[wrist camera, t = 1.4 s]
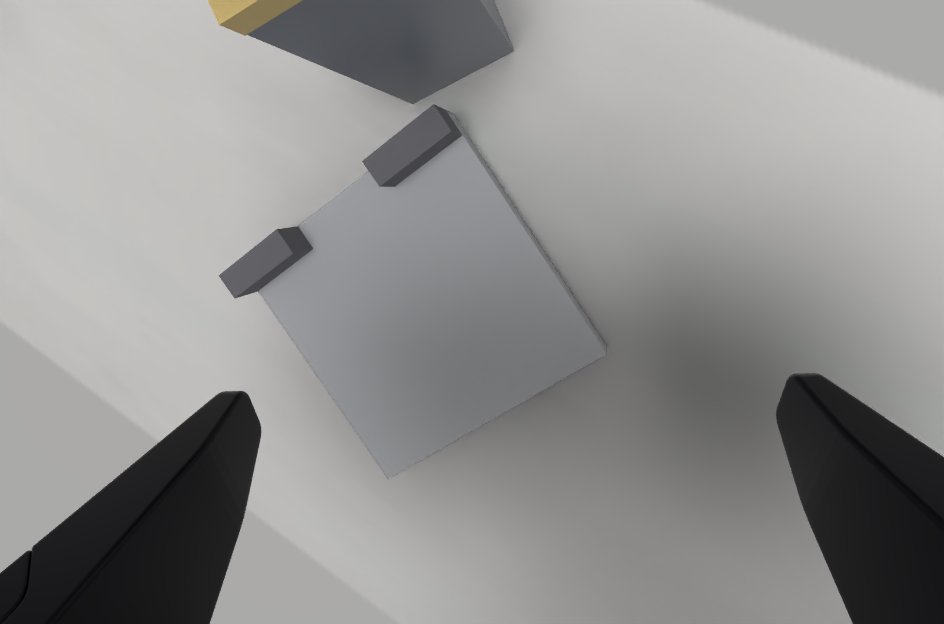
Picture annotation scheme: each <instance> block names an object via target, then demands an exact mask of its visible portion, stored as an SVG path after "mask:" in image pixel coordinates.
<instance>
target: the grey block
mask: <svg viewBox="0 0 944 624" xmlns="http://www.w3.org/2000/svg"><path fill="white" fill-rule="evenodd" d="M208 2H209V4H210V6H211V8H212V10H213V12H214V15H215V17H216V19H217V21H218V23H219V25H221V26H223V27H226V28H228V29H230V30H233V31H235V32H238V33H240V34H243V35H245V36H246V35H249V36H251V37H254V38H256V39H259V40H261V41H263V42H266V43H268V44H271V45H273V46H275V47H278V48H280V49H282V50H285V51H287V52H290V53H292V54H294V55H297V56H299V57H302V58H304V59H306V60H309V61H311V62H314V63H316V64H318V65H321V66H323V67H326V68H328V69H330V70H333V71H335V72H338V73H340V74H342V75H345V76H347V77H350V78H352V79H354V80H357V81H359V82H361V83H364V84H366V85H369V86H371V87H373V88H376V89H378V90H381V91H383V92H385V93H388V94H390V95H393V96H395V97H397V98H400V99H402V100H405V101H407V102H409V103H412V104H413V103H415V102H417V101H419V100H421V99H423V98H425V97H426V96H428V95H430V94H432V93H434V92H436V91H438V90H440V89H442V88H444V87H446V86H448V85H449V84H451V83H453V82H455V81H457V80H459V79H461V78H463V77H465V76H467V75H469V74H471V73H473V72H474V71H476V70H478V69H480V68H482V67H484V66H486V65H488V64H490V63H492V62H494V61H496V60H497V59H499V58H501V57H503V56H505V55H507V54H509V53H511V52H513V51H514V49H513V46H512V44H511V41H510V39H509V36H508V34H507V31H506V29H505V26H504V24H503V21H502V19H501V16H500V14H499V11H498V9H497V6H496V4H495V1H494V0H208Z"/></svg>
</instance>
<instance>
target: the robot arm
mask: <svg viewBox="0 0 944 624" xmlns="http://www.w3.org/2000/svg"><path fill="white" fill-rule="evenodd" d="M776 419H777V424H778V427H779V431H780V434H781V437H782V441H783V444H784V447H785V451H786V454H787V457H788V461H789V464H790V467H791V470H792V474H793V477H794V480H795V484H796V487H797V490H798V494H799V497H800V500H801V503H802V506H803V509H804V511H805V514H806V516H807V518H808V521H809V523H810V526H811V528H812V530H813V533H814V535H815V537H816V540H817V542H818V544H819V547H820V549H821V551H822V553H823V556H824V558H825V560H826V563H827V565H828V567H829V570H830V572H831V574H832V577H833V579H834V581H835V583H836V586H837V588H838V590H839V593H840V595H841V597H842V600H843V602H844V604H845V607H846V609H847V611H848V614H849V616H850V618H851V620H852V623H853V624H944V457H943V456H941V455H940V454H938V453H937V452H935V451H934V450H932V449H931V448H930V447H928V446H927V445H925V444H924V443H922V442H921V441H919V440H918V439H916V438H915V437H913V436H912V435H910V434H909V433H907V432H906V431H904V430H903V429H901V428H900V427H898V426H897V425H895V424H894V423H892V422H891V421H889V420H888V419H886V418H885V417H883V416H882V415H880V414H879V413H877V412H876V411H874V410H873V409H871V408H870V407H868V406H867V405H865V404H864V403H862V402H861V401H859V400H858V399H856V398H855V397H853V396H852V395H850V394H849V393H847V392H846V391H844V390H843V389H841V388H840V387H838V386H837V385H835V384H834V383H832V382H831V381H830V380H828V379H827V378H825V377H823V376H822V375H820V374H816V373H804V374H793V375H791V376H790V377H789V378H788V380H787V382H786V384H785V387H784V390H783V393H782V396H781V398H780V401H779V404H778V407H777V412H776ZM260 438H261V425H260V421H259V419H258V417H257V414H256V412H255V409H254V407H253V405H252V402H251V400H250V398H249V396H248V394H247V393H246V392H244V391H224V392H221V393H219V394H217V395H216V396H215V397H214V398H212V399H211V400H210V401H209V402H207V403H206V404H205V405H204V406H203V407H201V408H200V409H199V410H198V411H197V412H195V413H194V414H193V415H192V416H190V417H189V418H188V419H187V420H186V421H184V422H183V423H182V424H181V425H180V426H178V427H177V428H176V429H175V430H174V431H172V432H171V433H170V434H169V435H167V436H166V437H165V438H164V439H163V440H161V441H160V442H159V443H158V444H157V445H155V446H154V447H153V448H152V449H151V450H149V451H148V452H147V453H146V454H144V455H143V456H142V457H141V458H140V459H138V460H137V461H136V462H135V463H133V464H132V465H131V466H130V467H129V468H127V470H125V471H124V472H123V473H121V474H120V475H119V476H118V477H117V478H115V479H114V480H113V481H112V482H111V483H109V484H108V485H107V486H106V487H104V488H103V489H102V490H101V491H100V492H98V493H97V494H96V495H95V496H93V497H92V498H91V499H90V500H89V501H87V502H86V503H85V504H84V505H83V506H81V508H79V509H78V510H77V511H75V512H74V513H73V514H72V515H71V516H69V517H68V518H67V519H66V520H64V521H63V522H62V523H61V524H60V525H58V526H57V527H56V528H55V529H53V530H52V531H51V532H50V533H49V534H47V535H46V536H45V537H44V538H43V539H41V540H40V541H39V542H38V543H37V544H35V545H34V546H33V548H32V551H27V552H25V553H24V554H23V555H22V556H20V557H19V558H18V559H17V560H16V561H15V562H13V563H12V564H11V565H10V566H8V567H7V568H6V569H5V570H3V571H2V572H1V573H0V624H210V621H211V618H212V615H213V611H214V608H215V605H216V602H217V599H218V596H219V593H220V590H221V587H222V584H223V581H224V578H225V575H226V572H227V569H228V566H229V562H230V559H231V556H232V553H233V550H234V547H235V544H236V541H237V538H238V535H239V532H240V529H241V525H242V522H243V519H244V514H245V510H246V506H247V501H248V496H249V492H250V487H251V482H252V477H253V472H254V467H255V462H256V458H257V453H258V448H259V443H260Z"/></svg>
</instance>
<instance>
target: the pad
mask: <svg viewBox="0 0 944 624" xmlns="http://www.w3.org/2000/svg"><path fill="white" fill-rule="evenodd" d="M362 162H363V163H364V165H365V166H366V168H367V169H368V172H367V173H366V174H364V175H363V176H362V177H360V178H359V179H358V180H357V181H355V182H354V183H353V184H352V185H350V186H349V187H348V188H347V189H345V190H344V191H343V192H341V193H340V194H339V195H338V196H336V197H335V198H334V199H333V200H331V201H330V202H329V203H327V204H326V205H325V206H324V207H322V208H321V209H320V210H319V211H317V212H316V213H315V214H313V215H312V216H311V217H310V218H308V219H307V220H306V221H305V222H303V223H302V224H301V225H299V226H298V227H291V228H284V229H277V230H275V231H274V232H273V233H272V234H270V235H269V236H268V237H267V238H265V239H264V240H263V241H262V242H260V243H259V244H258V245H257V246H255V247H254V248H253V249H251V250H250V251H249V252H248V253H246V254H245V255H244V256H243V257H241V258H240V259H239V260H238V261H236V262H235V263H234V264H233V265H231V266H230V267H229V268H228V269H226V270H225V271H224V272H223V273H221V274H220V275H219V277H220V278H221V279H222V281H223V282H224V284H225V285H226V287H227V288H228V290H229V291H230V292H231V294H232V295H233V297H234V298H238V297H241V296H244V295H247V294H251V293H254V292H257V291H258V292H259V293H260V295H261V296H262V298H263V299H264V301H265V302H266V304H267V305H268V306H269V308H270V309H271V311H272V312H273V314H274V315H275V317H276V318H277V319H278V321H279V322H280V324H281V325H282V327H283V328H284V330H285V331H286V332H287V334H288V335H289V337H290V338H291V340H292V341H293V343H294V344H295V345H296V347H297V348H298V350H299V351H300V353H301V354H302V356H303V357H304V358H305V360H306V361H307V363H308V364H309V366H310V367H311V369H312V370H313V371H314V373H315V374H316V376H317V377H318V379H319V380H320V382H321V383H322V384H323V386H324V387H325V389H326V390H327V392H328V393H329V394H330V396H331V397H332V399H333V400H334V402H335V403H336V405H337V406H338V407H339V409H340V410H341V412H342V413H343V415H344V416H345V418H346V419H347V420H348V422H349V423H350V425H351V426H352V428H353V429H354V431H355V432H356V433H357V435H358V436H359V438H360V439H361V441H362V442H363V444H364V445H365V446H366V448H367V449H368V451H369V452H370V454H371V455H372V457H373V458H374V459H375V461H376V462H377V464H378V465H379V467H380V468H381V470H382V471H383V472H384V474H385V475H386V477H387V478H388V479H389V478H391V477H393V476H394V475H396V474H398V473H400V472H401V471H403V470H405V469H407V468H408V467H410V466H412V465H414V464H415V463H417V462H419V461H421V460H422V459H424V458H426V457H428V456H429V455H431V454H433V453H435V452H436V451H438V450H440V449H442V448H443V447H445V446H447V445H449V444H450V443H452V442H454V441H456V440H457V439H459V438H461V437H463V436H464V435H466V434H468V433H470V432H472V431H473V430H475V429H477V428H479V427H480V426H482V425H484V424H486V423H487V422H489V421H491V420H493V419H494V418H496V417H498V416H500V415H501V414H503V413H505V412H507V411H508V410H510V409H512V408H514V407H515V406H517V405H519V404H521V403H522V402H524V401H526V400H528V399H529V398H531V397H533V396H535V395H536V394H538V393H540V392H542V391H543V390H545V389H547V388H549V387H550V386H552V385H554V384H556V383H557V382H559V381H561V380H563V379H564V378H566V377H568V376H570V375H571V374H573V373H575V372H577V371H578V370H580V369H582V368H584V367H585V366H587V365H589V364H591V363H592V362H594V361H596V360H598V359H599V358H601V357H603V356H605V355H606V354H607V346H606V345H605V343H604V342H603V340H602V339H601V337H600V336H599V334H598V333H597V331H596V330H595V328H594V327H593V325H592V324H591V322H590V321H589V319H588V318H587V316H586V314H585V313H584V311H583V310H582V308H581V307H580V305H579V304H578V302H577V301H576V299H575V298H574V296H573V295H572V293H571V292H570V290H569V289H568V287H567V286H566V284H565V283H564V281H563V280H562V278H561V276H560V275H559V273H558V272H557V270H556V269H555V267H554V266H553V264H552V263H551V261H550V260H549V258H548V257H547V255H546V254H545V252H544V251H543V249H542V248H541V246H540V245H539V243H538V242H537V240H536V238H535V237H534V235H533V234H532V232H531V231H530V229H529V228H528V226H527V225H526V223H525V222H524V220H523V219H522V217H521V216H520V214H519V213H518V211H517V210H516V208H515V207H514V205H513V204H512V202H511V201H510V199H509V197H508V196H507V194H506V193H505V191H504V190H503V188H502V187H501V185H500V184H499V182H498V181H497V179H496V178H495V176H494V175H493V173H492V172H491V170H490V169H489V167H488V166H487V164H486V163H485V161H484V159H483V158H482V156H481V155H480V153H479V152H478V150H477V149H476V147H475V146H474V144H473V143H472V141H471V140H470V138H469V137H468V135H467V134H466V132H465V131H464V129H463V128H462V126H461V125H460V123H459V121H458V120H457V118H456V117H455V115H454V114H453V113H451V112H449V111H447V110H445V109H442V108H440V107H438V106H436V105H434V104H433V105H432V106H431V107H430V108H428V109H427V110H426V111H425V112H423V113H422V114H421V115H420V116H418V117H417V118H416V119H415V120H413V121H412V122H411V123H410V124H408V125H407V126H406V127H405V128H403V129H402V130H401V131H400V132H398V133H397V134H396V135H394V136H393V137H392V138H391V139H389V140H388V141H387V142H386V143H384V144H383V145H382V146H381V147H379V148H378V149H377V150H376V151H374V152H373V153H372V154H371V155H369V156H368V157H367V158H366V159H364V160H363V161H362Z"/></svg>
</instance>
